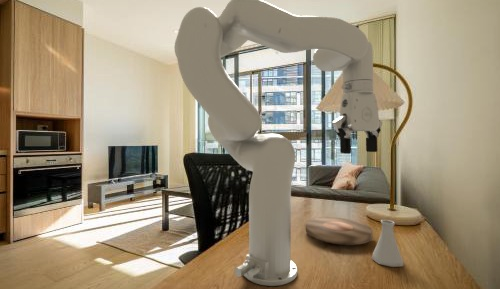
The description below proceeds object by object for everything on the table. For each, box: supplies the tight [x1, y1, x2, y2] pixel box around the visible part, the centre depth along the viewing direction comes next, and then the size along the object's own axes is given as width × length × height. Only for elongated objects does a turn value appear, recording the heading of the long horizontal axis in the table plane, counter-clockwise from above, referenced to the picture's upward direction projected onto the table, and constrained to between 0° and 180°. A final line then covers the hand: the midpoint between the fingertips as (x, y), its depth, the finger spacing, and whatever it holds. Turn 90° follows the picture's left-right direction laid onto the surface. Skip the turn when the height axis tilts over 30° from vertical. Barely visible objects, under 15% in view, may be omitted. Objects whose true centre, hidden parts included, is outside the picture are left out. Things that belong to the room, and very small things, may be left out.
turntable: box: [304, 216, 374, 246], centre depth 80 cm, size 20×20×2 cm
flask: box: [371, 219, 404, 268], centre depth 64 cm, size 7×7×10 cm
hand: (359, 152), depth 69 cm, fingers open, 9 cm apart
